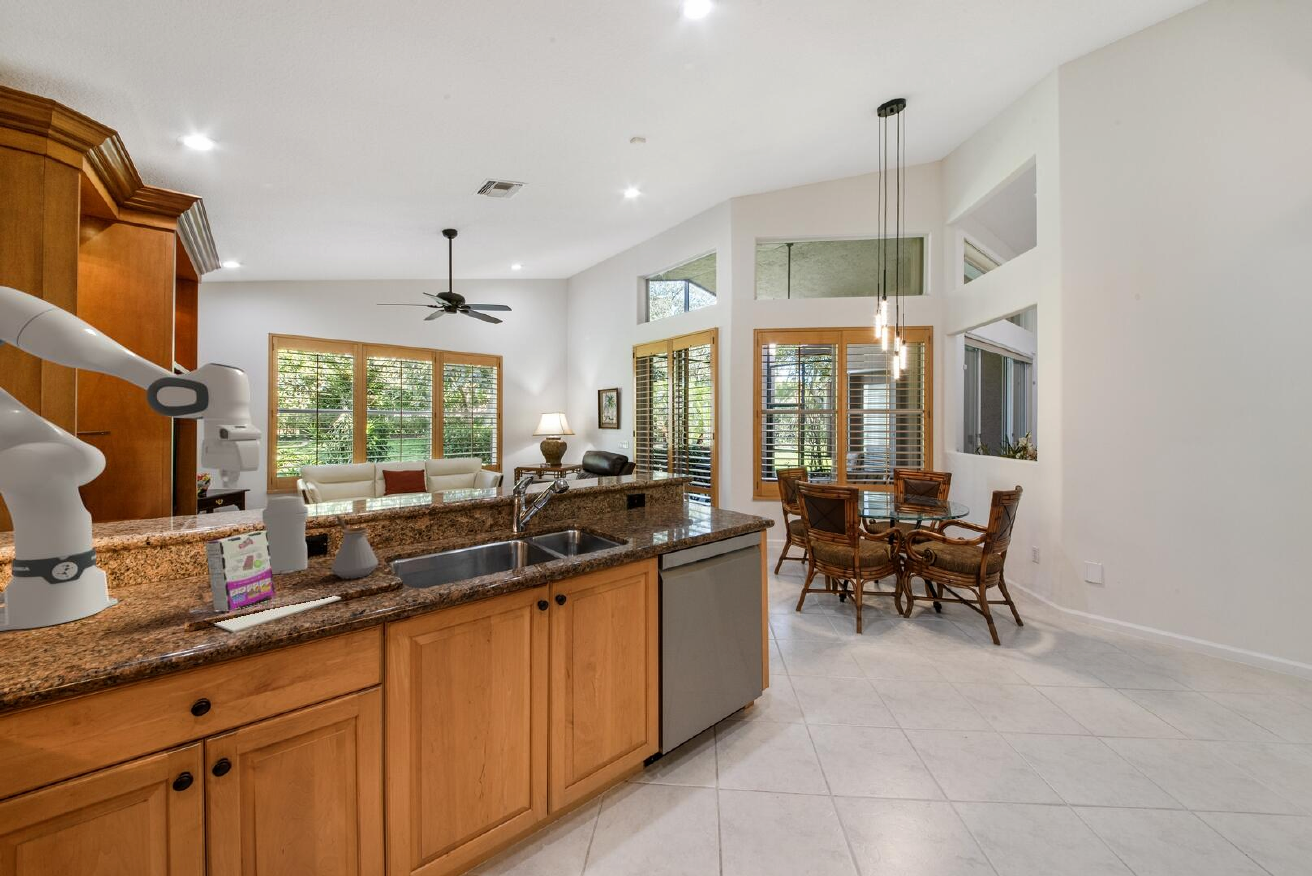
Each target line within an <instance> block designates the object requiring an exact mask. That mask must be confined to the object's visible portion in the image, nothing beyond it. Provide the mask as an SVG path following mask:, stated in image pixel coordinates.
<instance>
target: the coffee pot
mask: <svg viewBox="0 0 1312 876" xmlns="http://www.w3.org/2000/svg"><path fill="white" fill-rule="evenodd" d="M335 519H337V520H335ZM333 521H334V522H335V523H336V522H338V523H339V526H340V527H341V528H342V530H341V534H343V541H342V542H341V544H340V547H339V549H338V551H337V554H336V556H335V558H334V561H333V563H332V564H331V567H330V569H331V571H332V573H334V574H335V575H337V576H338V577H339V578H340V577H341V579H344V578H345V579H349V578H351V579H357V578H358V577H359V578H363V577H365V576H366V577H367V576H368V575H371V573H372V572H373V571H374V570H375V569H376V568H377V566H378V564H379V560H378V558H377V557H376V554H375V552H374V551H373V549H372V547H371V545H370V543H369V541H368V539H367V537H366V534H367V532H368V531H369V528H368V527H352V528H351V527H350V528H347V525H346V523H345V522H344V521H343V517H342V516H339V515H336V516H335V517H334V518H333Z"/></svg>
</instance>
